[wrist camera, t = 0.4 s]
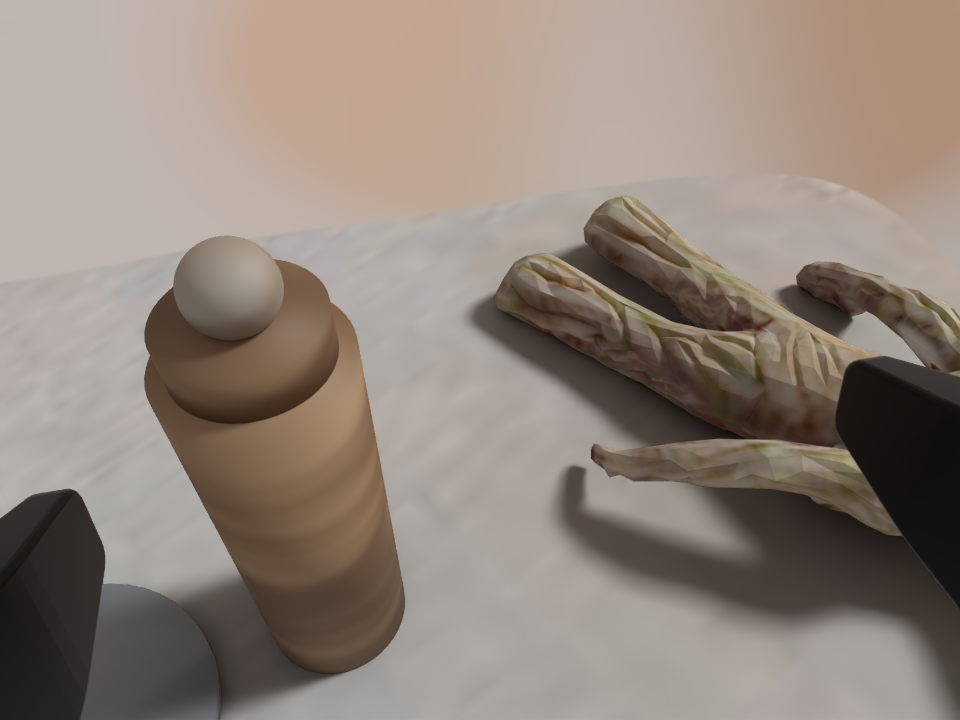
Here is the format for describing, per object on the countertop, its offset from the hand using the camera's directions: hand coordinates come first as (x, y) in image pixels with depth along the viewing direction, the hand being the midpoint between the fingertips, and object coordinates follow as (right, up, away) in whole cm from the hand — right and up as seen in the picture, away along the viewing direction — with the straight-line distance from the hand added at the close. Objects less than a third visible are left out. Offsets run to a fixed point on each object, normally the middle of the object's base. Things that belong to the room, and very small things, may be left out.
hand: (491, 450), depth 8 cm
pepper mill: (-5, -7, +16) cm, 18 cm away
